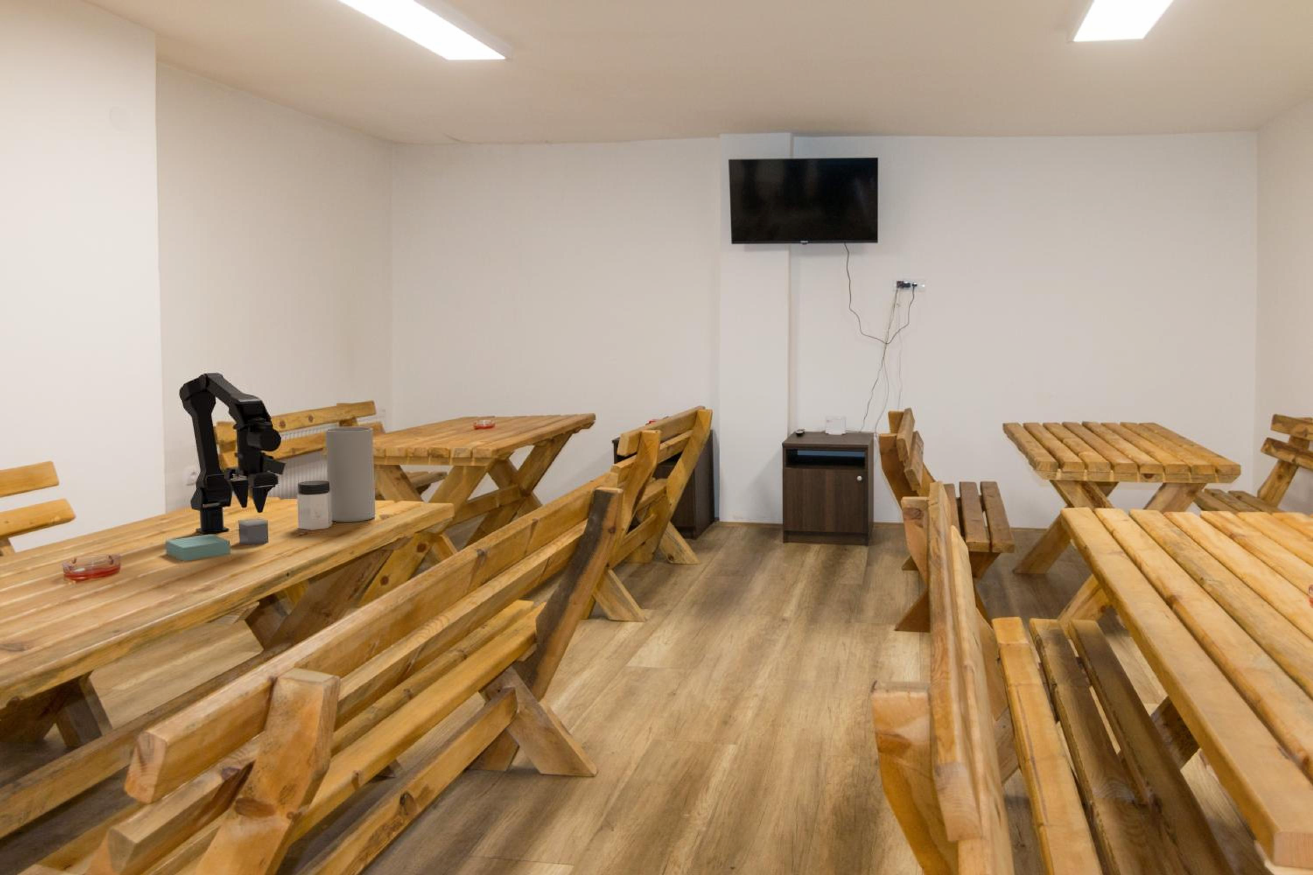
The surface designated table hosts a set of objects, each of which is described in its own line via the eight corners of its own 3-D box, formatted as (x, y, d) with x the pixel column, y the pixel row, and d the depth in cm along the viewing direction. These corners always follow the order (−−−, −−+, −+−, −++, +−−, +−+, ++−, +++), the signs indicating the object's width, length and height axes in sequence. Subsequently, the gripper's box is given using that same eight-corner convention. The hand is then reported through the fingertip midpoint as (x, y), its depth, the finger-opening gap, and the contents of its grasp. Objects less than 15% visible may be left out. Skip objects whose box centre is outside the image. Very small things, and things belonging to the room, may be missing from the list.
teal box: (166, 555, 262) (165, 540, 262) (212, 548, 270) (211, 534, 269) (183, 562, 254) (183, 547, 254) (230, 555, 262) (229, 540, 262)
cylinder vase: (383, 515, 310) (380, 427, 307) (361, 523, 298) (358, 432, 295) (343, 513, 313) (340, 426, 310) (320, 521, 300) (316, 431, 298)
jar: (302, 531, 287) (301, 486, 286) (294, 526, 294) (292, 482, 293) (336, 527, 292) (335, 483, 291) (327, 522, 299) (325, 479, 298)
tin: (238, 542, 275) (237, 520, 274) (259, 539, 278) (258, 517, 278) (248, 545, 271) (247, 523, 270) (269, 542, 274) (268, 520, 274)
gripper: (297, 449, 271) (299, 511, 273) (264, 442, 284) (267, 501, 286) (253, 453, 263) (256, 517, 265) (221, 446, 276) (224, 506, 278)
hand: (252, 510), depth 274 cm, fingers open, 9 cm apart
